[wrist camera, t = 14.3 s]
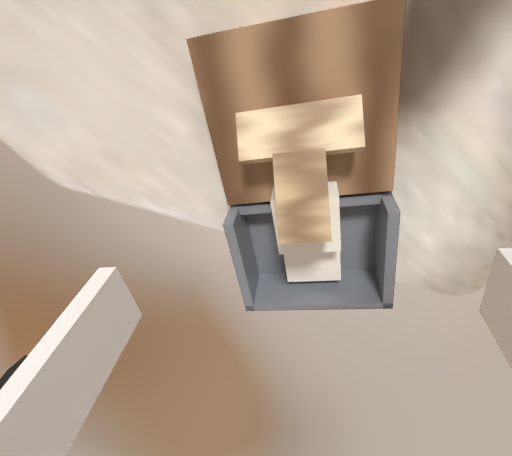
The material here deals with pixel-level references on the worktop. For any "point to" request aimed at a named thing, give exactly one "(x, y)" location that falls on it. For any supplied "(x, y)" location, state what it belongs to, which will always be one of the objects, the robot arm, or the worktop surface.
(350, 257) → the tray
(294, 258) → the tile
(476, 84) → the worktop surface
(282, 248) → the tile
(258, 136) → the scraper
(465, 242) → the worktop surface
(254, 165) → the board
